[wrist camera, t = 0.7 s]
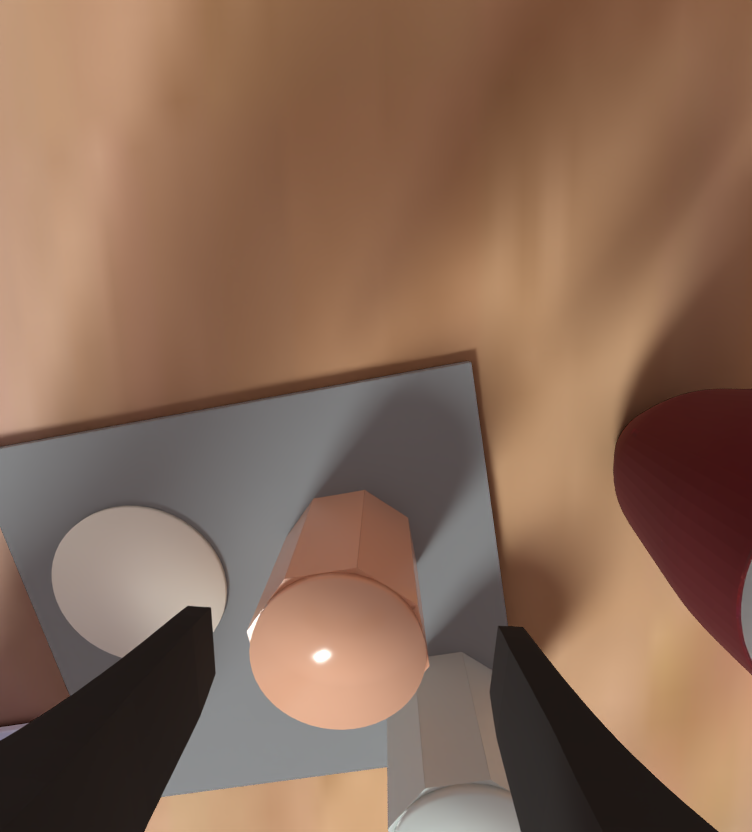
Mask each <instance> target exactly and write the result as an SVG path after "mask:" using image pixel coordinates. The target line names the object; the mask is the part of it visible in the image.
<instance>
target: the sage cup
mask: <svg viewBox="0 0 752 832" xmlns="http://www.w3.org/2000/svg"><path fill="white" fill-rule="evenodd" d="M429 665H430V666H429V667H428V669H427V670H426V671H425V672H424V675H423V678H422V681H421V684H420V685H419V687H418V689H417V691H416V693H415V694H414V695H413V697H412V698H411V699H410V701H409V702H408V703H407V704H406V705H405V706H404V707H403V708H401V709H400V710H399V711H397V712H396V713H395V714H393V715H392V716H390V717H388V718H387V777H388V831H389V832H521V830H520V826H519V823H518V819H517V815H516V811H515V807H514V804H513V800H512V796H511V792H510V788H509V785H508V781H507V777H506V773H505V769H504V766H503V762H502V758H501V754H500V750H499V746H498V742H497V738H496V732H495V726H494V720H493V713H492V706H491V700H490V693H489V692H490V684H491V676H492V670H491V669H489V668H488V667H486V666H484V665H483V664H481V663H479V662H478V661H476V660H474V659H473V658H471V657H470V656H468V655H466V654H465V653H463V652H457V653H450V654H443V655H436V656H429Z"/></svg>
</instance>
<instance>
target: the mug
mask: <svg viewBox="0 0 752 832" xmlns="http://www.w3.org/2000/svg"><path fill="white" fill-rule="evenodd" d="M613 473H614V485H615V491H616V495H617V499H618V502H619V504H620V507H621V509H622V511H623V513H624V515H625V517H626V519H627V520H628V522H629V524H630V525H631V527H632V528H633V530H634V531H635V533H636V534H637V536H638V537H639V539H640V540H641V542H642V543H643V545H644V546H645V548H646V549H647V551H648V552H649V554H650V555H651V557H652V558H653V560H654V561H655V563H656V564H657V566H658V567H659V569H660V570H661V572H662V573H663V575H664V576H665V578H666V579H667V581H668V582H669V584H670V585H671V587H672V588H673V590H674V591H675V592H676V594H677V595H678V597H679V598H680V599H681V601H682V602H683V604H684V605H685V606H686V607H687V609H688V610H689V611H690V612H691V614H692V615H693V616H694V617H695V618H696V619H697V620H698V621H699V623H700V624H701V625H702V626H703V627H704V628H705V629H706V630H707V631H708V632H709V633H710V634H711V635H712V636H713V637H714V638H715V639H716V640H717V641H718V642H719V643H720V644H721V645H722V646H723V647H724V648H725V649H726V650H727V651H728V652H729V653H730V654H731V655H732V656H733V657H734V658H735V659H736V660H737V661H738V662H739V663H740V664H741V665H742V666H743V667H744V668H745V669H746V670H747V671H748V672H749V673H750V674H751V675H752V389H709V390H701V391H695V392H690V393H686V394H683V395H679V396H676V397H673V398H671V399H668V400H666V401H664V402H662V403H659V404H657V405H655V406H654V407H652V408H650V409H648V410H646V411H645V412H643V413H641V414H640V415H638V416H637V417H635V418H634V419H633V420H632V421H631V422H630V423H629V424H628V425H627V426H626V427H625V428H624V430H623V431H622V433H621V435H620V436H619V439H618V441H617V444H616V447H615V453H614V467H613Z"/></svg>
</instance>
